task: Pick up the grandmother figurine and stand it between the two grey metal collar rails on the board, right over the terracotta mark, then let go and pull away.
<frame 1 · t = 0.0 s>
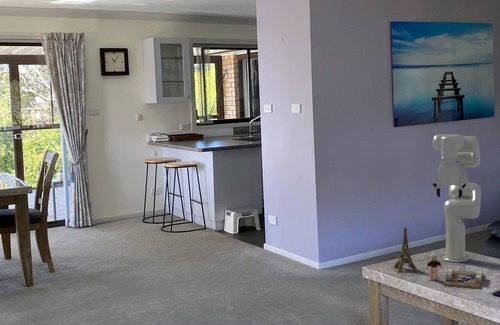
hand: (449, 197, 306), 37 cm above the table, tool pointing down, fingers open, 9 cm apart
grandmother figurine: (434, 280, 298), on the table
eiffel tower: (405, 269, 317), on the table
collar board: (464, 280, 295), on the table
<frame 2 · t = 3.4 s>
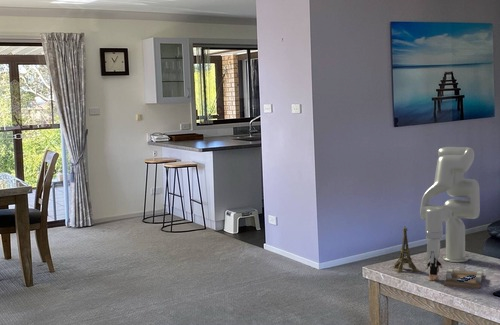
hand: (434, 273, 298), 3 cm above the table, tool pointing down, fingers closed on grandmother figurine, 3 cm apart
grandmother figurine: (434, 280, 298), on the table, touching gripper
everything else where it was.
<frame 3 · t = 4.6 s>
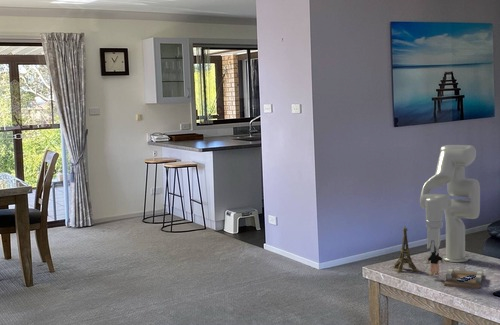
hand: (434, 261, 298), 8 cm above the table, tool pointing down, fingers closed on grandmother figurine, 3 cm apart
grandmother figurine: (435, 274, 299), point 2 cm above the table, touching gripper
everything else where it was.
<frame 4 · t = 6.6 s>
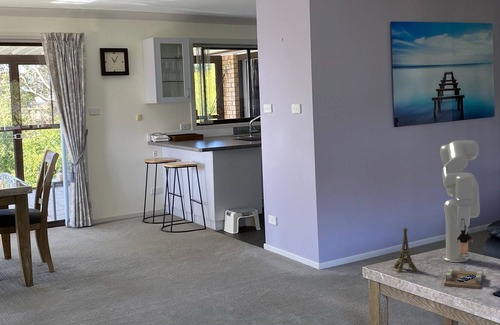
hand: (464, 241, 293), 18 cm above the table, tool pointing down, fingers closed on grandmother figurine, 3 cm apart
grandmother figurine: (464, 254, 294), point 12 cm above the table, touching gripper
everything else where it was.
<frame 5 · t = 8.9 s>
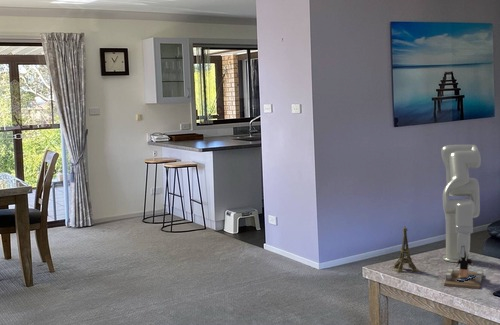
hand: (464, 267, 295), 6 cm above the table, tool pointing down, fingers closed on grandmother figurine, 2 cm apart
grandmother figurine: (464, 278, 295), point 1 cm above the table, touching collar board, gripper
everything else where it was.
when the fingers open (6 cm above the table, at t = 9.1 s): grandmother figurine stays where it is, resting on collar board.
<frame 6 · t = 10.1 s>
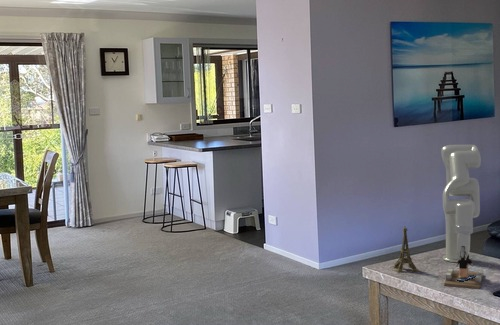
hand: (464, 265, 295), 7 cm above the table, tool pointing down, fingers open, 9 cm apart
grandmother figurine: (464, 278, 295), point 1 cm above the table, touching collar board
everything else where it was.
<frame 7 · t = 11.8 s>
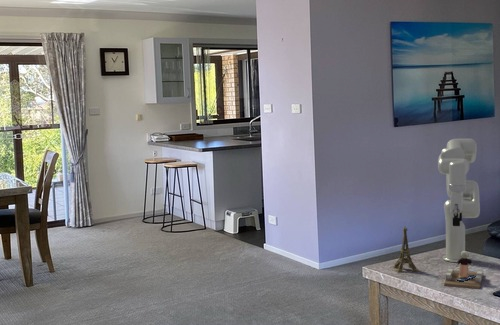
hand: (457, 223, 301), 25 cm above the table, tool pointing down, fingers open, 9 cm apart
nothing on the table moved.
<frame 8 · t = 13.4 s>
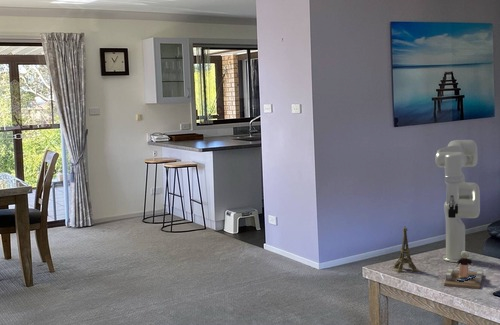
hand: (453, 215, 304), 28 cm above the table, tool pointing down, fingers open, 9 cm apart
nothing on the table moved.
at the end: grandmother figurine 0.2 cm off-centre on the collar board, point 1.1 cm above the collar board's base; grandmother figurine tilted 0°; the gripper is holding nothing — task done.
